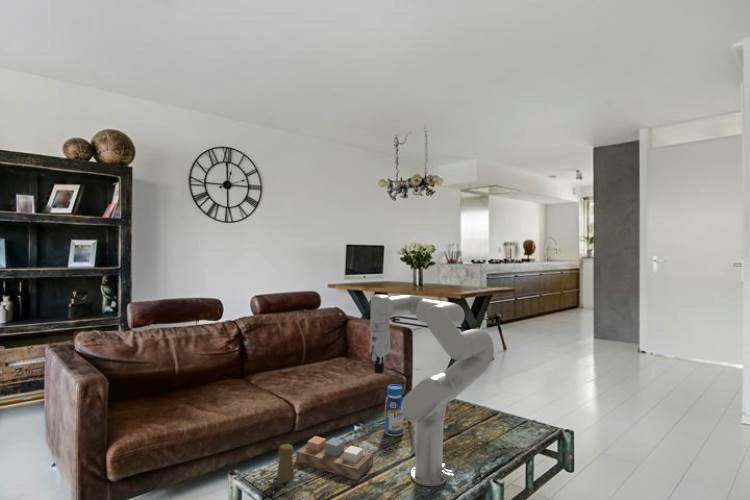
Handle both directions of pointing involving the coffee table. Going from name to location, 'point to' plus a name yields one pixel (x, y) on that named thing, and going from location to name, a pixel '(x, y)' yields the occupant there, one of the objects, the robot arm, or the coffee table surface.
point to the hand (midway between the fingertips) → (379, 372)
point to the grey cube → (334, 447)
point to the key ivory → (353, 454)
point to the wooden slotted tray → (335, 462)
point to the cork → (285, 463)
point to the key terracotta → (316, 444)
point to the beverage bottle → (394, 411)
